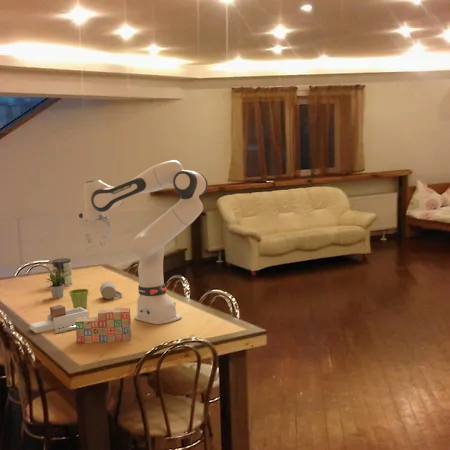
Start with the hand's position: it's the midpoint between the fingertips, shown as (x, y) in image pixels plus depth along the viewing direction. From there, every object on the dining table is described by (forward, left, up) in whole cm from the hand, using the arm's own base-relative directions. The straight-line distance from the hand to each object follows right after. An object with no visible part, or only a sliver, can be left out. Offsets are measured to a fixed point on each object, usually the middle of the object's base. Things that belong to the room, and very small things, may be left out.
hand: (96, 244), depth 295 cm
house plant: (+41, +4, -32) cm, 52 cm away
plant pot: (+11, +6, -32) cm, 35 cm away
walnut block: (-9, +24, -30) cm, 39 cm away
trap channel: (-9, +24, -32) cm, 41 cm away
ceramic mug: (+19, -15, -32) cm, 40 cm away
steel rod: (-18, +23, -32) cm, 43 cm away
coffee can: (+67, -8, -32) cm, 75 cm away
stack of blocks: (-42, +18, -32) cm, 56 cm away
